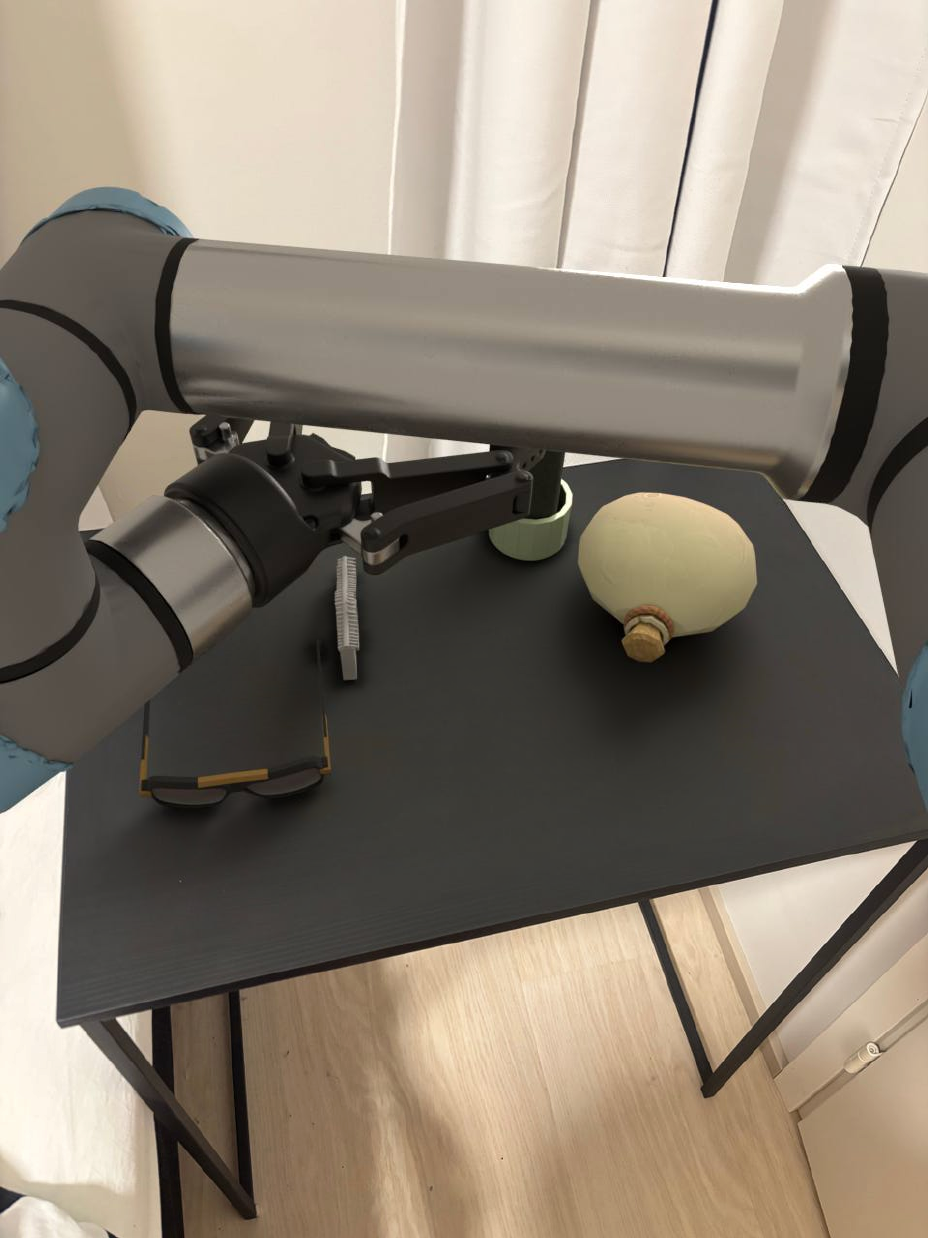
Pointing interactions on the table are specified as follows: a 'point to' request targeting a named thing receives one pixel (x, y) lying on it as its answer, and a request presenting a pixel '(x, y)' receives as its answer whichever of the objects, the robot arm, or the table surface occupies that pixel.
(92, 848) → the table surface
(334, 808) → the table surface
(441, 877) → the table surface
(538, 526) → the candle holder
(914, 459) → the robot arm
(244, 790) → the sunglasses
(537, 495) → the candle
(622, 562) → the flask
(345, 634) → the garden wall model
